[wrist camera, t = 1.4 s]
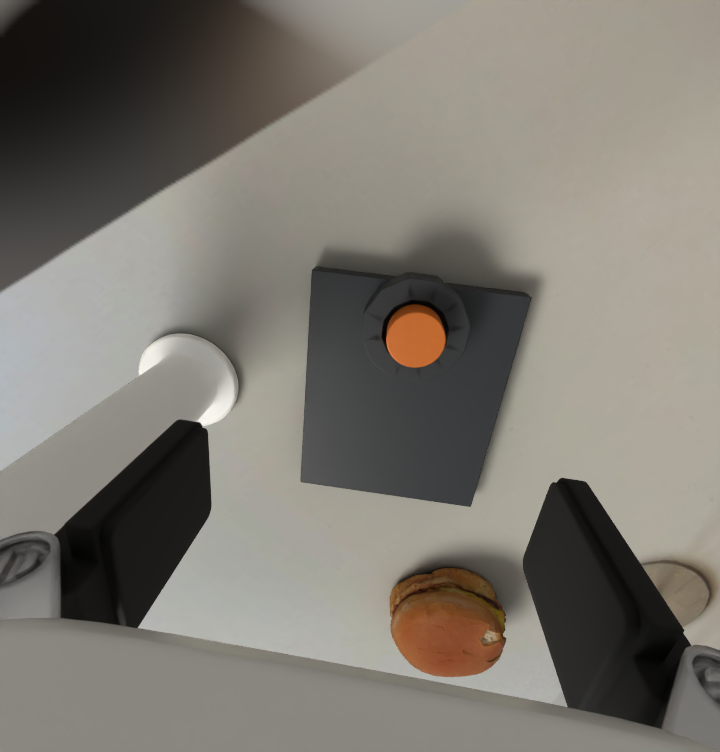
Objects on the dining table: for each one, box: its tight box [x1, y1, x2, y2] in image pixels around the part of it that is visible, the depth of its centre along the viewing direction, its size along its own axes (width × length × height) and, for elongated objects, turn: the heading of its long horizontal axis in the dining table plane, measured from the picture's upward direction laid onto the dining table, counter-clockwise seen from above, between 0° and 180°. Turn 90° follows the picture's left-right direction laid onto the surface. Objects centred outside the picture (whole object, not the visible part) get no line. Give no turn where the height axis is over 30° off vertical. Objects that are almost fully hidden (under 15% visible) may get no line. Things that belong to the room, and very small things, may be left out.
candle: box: [0, 333, 239, 540], centre depth 17 cm, size 7×7×25 cm
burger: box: [390, 568, 506, 677], centre depth 34 cm, size 10×9×5 cm
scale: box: [301, 267, 531, 507], centre depth 26 cm, size 16×13×3 cm
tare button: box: [386, 304, 446, 368], centre depth 22 cm, size 3×3×2 cm
